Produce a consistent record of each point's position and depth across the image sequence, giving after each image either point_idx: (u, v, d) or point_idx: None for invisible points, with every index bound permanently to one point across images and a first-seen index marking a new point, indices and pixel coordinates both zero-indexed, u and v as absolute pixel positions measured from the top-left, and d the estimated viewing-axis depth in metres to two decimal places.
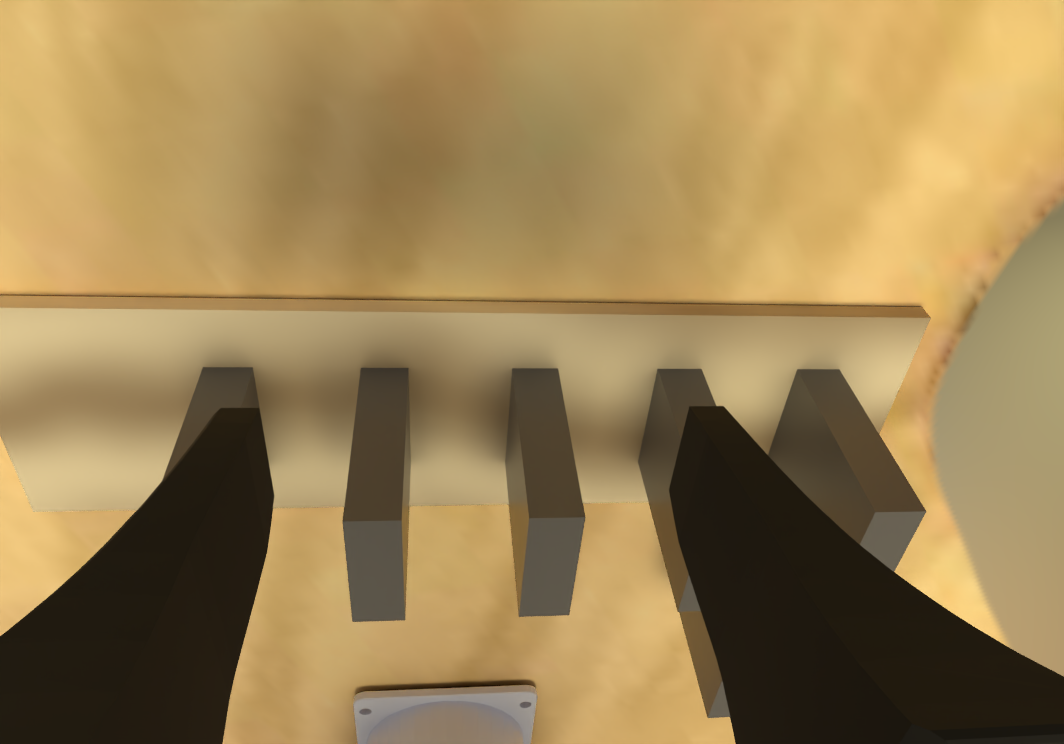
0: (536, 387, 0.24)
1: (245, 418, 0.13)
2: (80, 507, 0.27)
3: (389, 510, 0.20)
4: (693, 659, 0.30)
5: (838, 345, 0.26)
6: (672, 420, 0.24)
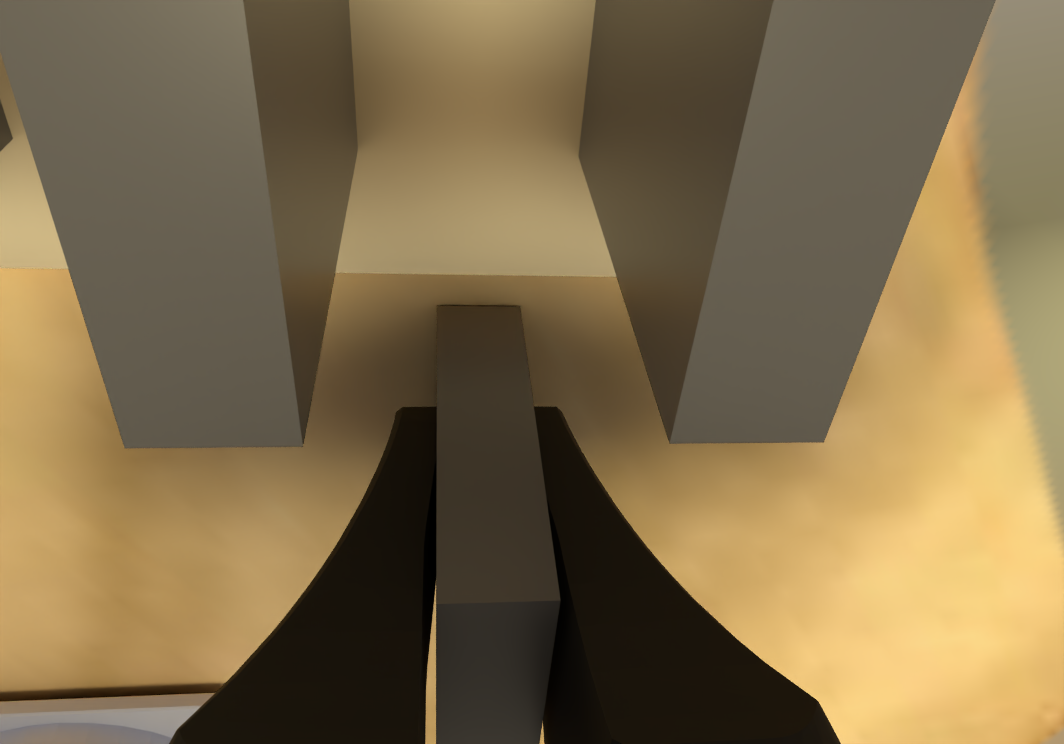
0: None
1: (430, 417, 0.13)
2: None
3: None
4: None
5: None
6: None
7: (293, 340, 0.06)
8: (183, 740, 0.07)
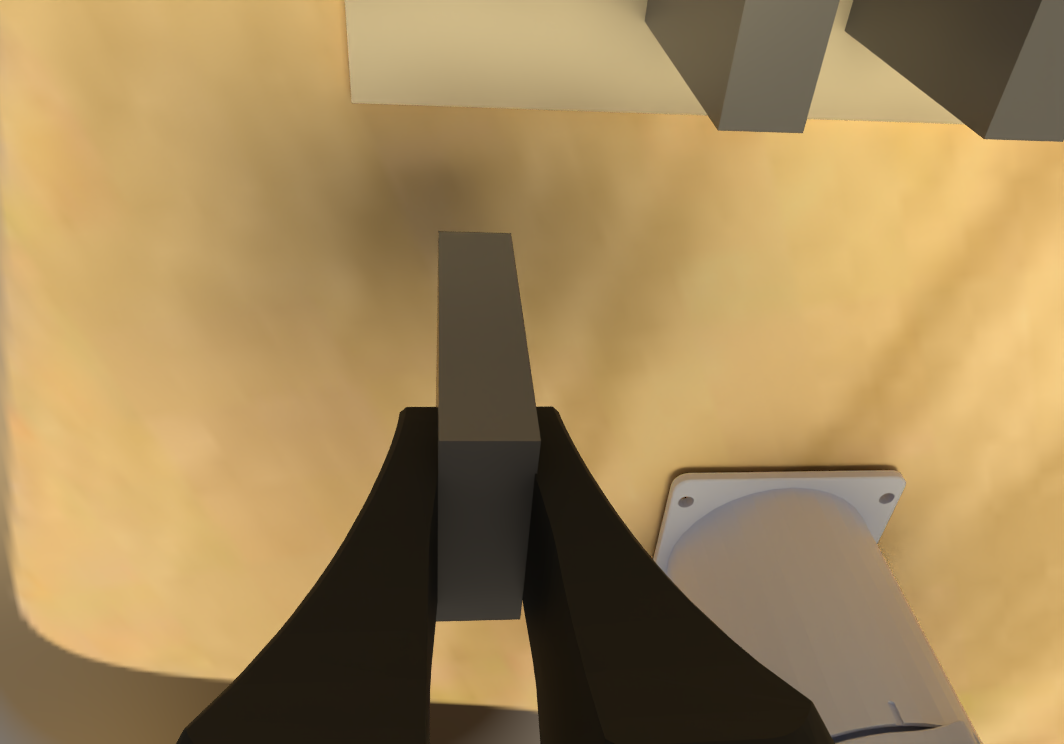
0: None
1: (434, 417, 0.13)
2: (419, 97, 0.18)
3: None
4: None
5: None
6: None
7: None
8: (190, 740, 0.07)
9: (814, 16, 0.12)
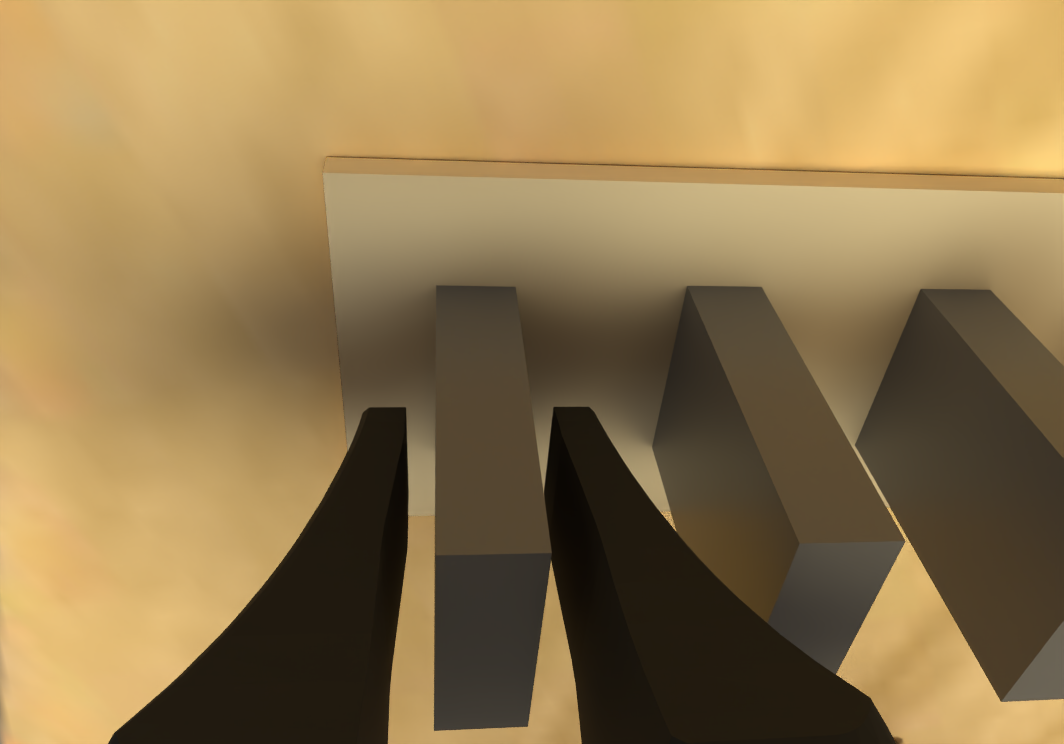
0: None
1: (396, 417, 0.13)
2: (422, 510, 0.18)
3: None
4: None
5: None
6: None
7: None
8: (119, 743, 0.07)
9: (830, 645, 0.12)
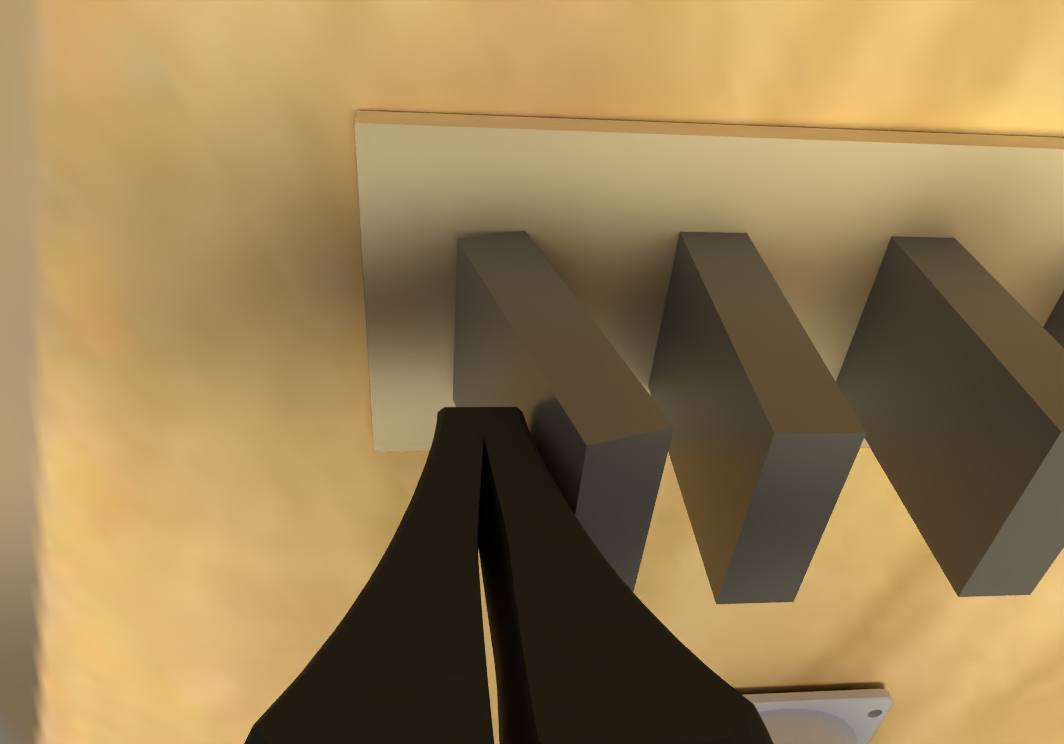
0: None
1: (473, 417, 0.13)
2: None
3: None
4: None
5: None
6: None
7: None
8: (261, 736, 0.07)
9: (803, 535, 0.13)
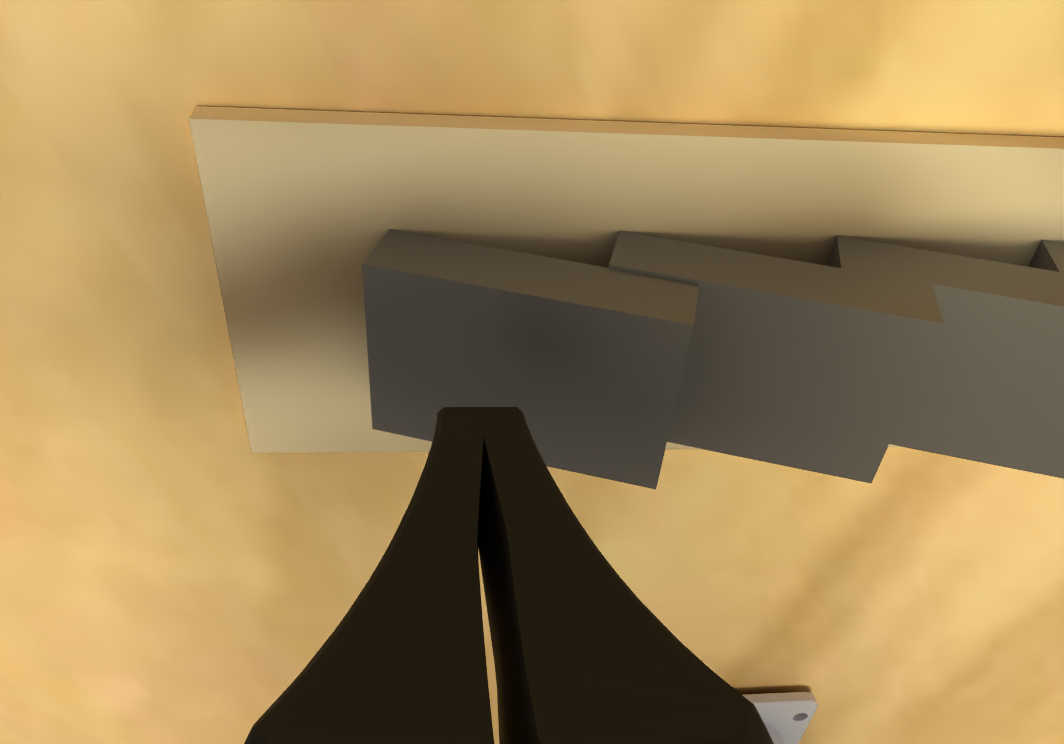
0: None
1: (473, 417, 0.13)
2: (316, 447, 0.19)
3: None
4: (551, 461, 0.17)
5: None
6: None
7: None
8: (261, 737, 0.07)
9: None
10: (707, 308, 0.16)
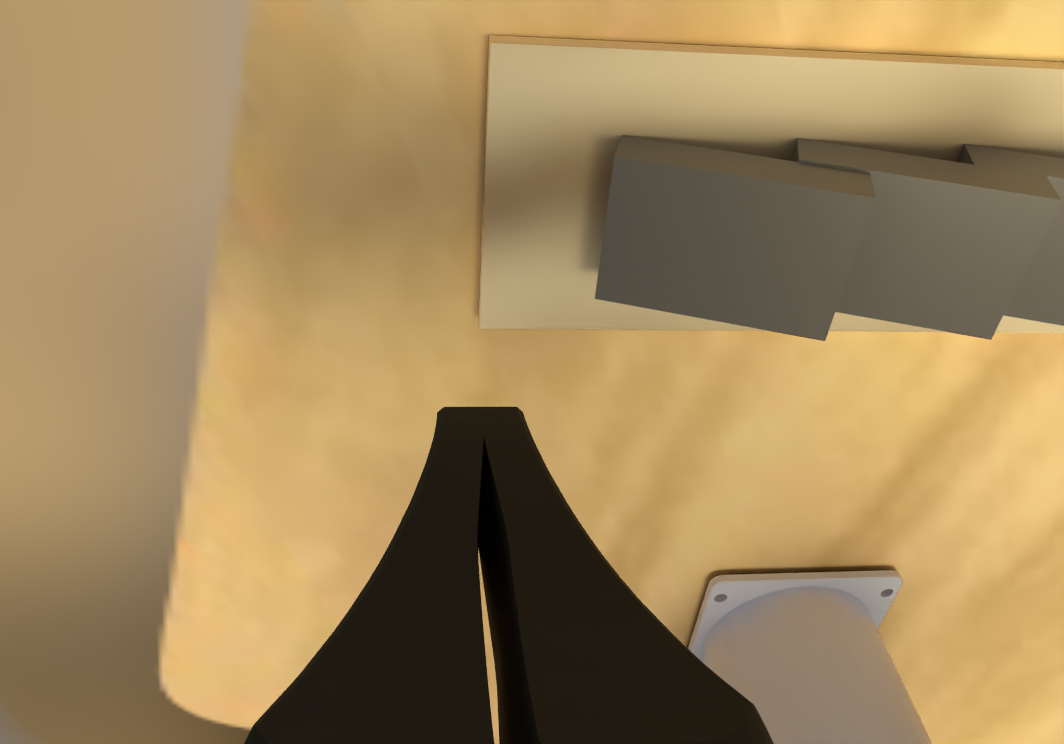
0: None
1: (473, 417, 0.13)
2: (531, 324, 0.24)
3: None
4: (741, 320, 0.21)
5: None
6: None
7: None
8: (261, 736, 0.07)
9: None
10: None
